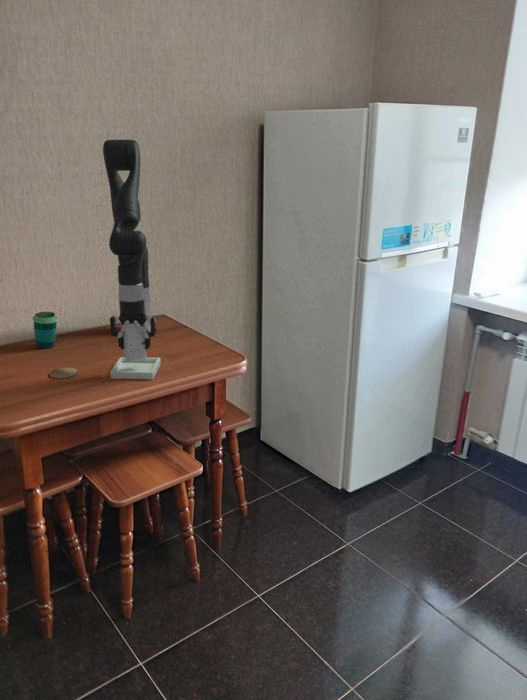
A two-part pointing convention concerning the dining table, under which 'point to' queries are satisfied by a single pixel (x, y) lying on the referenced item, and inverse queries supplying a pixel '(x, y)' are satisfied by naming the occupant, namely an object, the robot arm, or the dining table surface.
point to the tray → (135, 369)
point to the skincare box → (133, 343)
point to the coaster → (63, 373)
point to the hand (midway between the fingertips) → (134, 348)
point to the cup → (45, 329)
